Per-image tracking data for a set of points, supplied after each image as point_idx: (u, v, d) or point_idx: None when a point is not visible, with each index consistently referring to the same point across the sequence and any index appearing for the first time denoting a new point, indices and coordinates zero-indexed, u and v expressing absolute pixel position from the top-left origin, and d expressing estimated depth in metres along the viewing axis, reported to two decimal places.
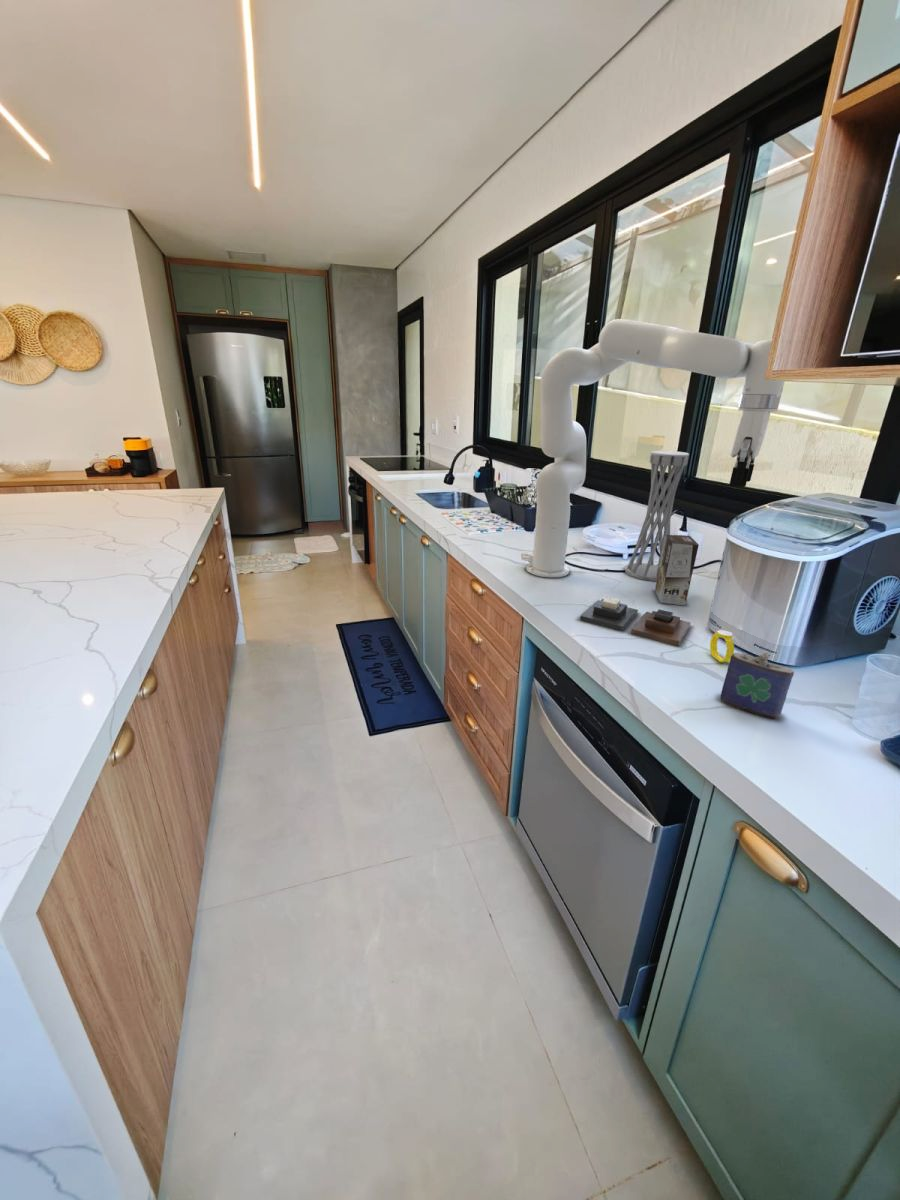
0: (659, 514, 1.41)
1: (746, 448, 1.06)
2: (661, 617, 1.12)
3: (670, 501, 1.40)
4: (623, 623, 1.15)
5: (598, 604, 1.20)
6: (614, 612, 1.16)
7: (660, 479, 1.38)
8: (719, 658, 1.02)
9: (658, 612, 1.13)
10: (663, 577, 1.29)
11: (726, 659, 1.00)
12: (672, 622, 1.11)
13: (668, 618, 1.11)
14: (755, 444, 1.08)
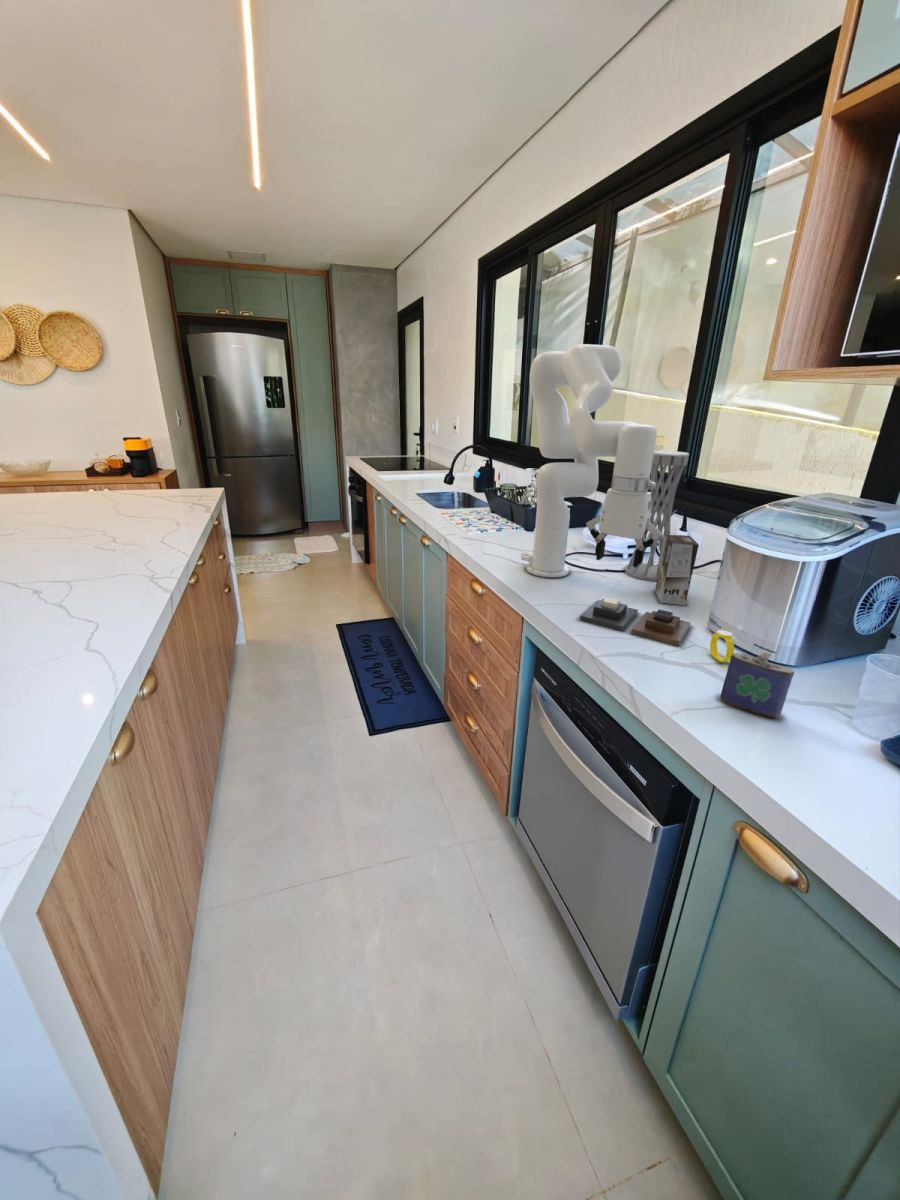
0: (659, 514, 1.41)
1: (587, 522, 1.16)
2: (661, 617, 1.12)
3: (670, 501, 1.40)
4: (623, 623, 1.15)
5: (598, 604, 1.20)
6: (614, 612, 1.16)
7: (660, 479, 1.38)
8: (719, 658, 1.02)
9: (658, 612, 1.13)
10: (663, 577, 1.29)
11: (726, 659, 1.00)
12: (672, 622, 1.11)
13: (668, 618, 1.11)
14: (599, 519, 1.13)
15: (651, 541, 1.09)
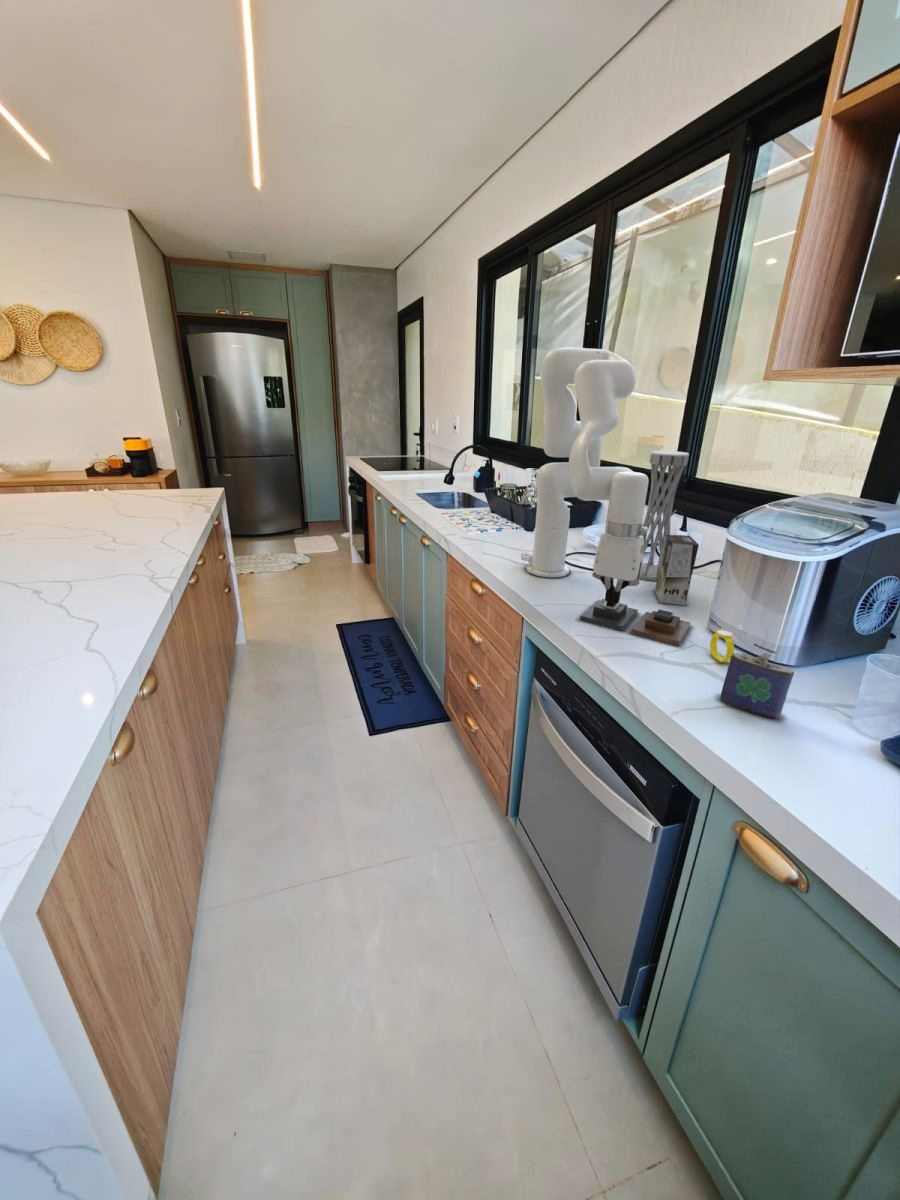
0: (659, 514, 1.41)
1: None
2: (661, 617, 1.12)
3: (670, 501, 1.40)
4: (623, 623, 1.15)
5: (598, 604, 1.20)
6: (614, 612, 1.16)
7: (660, 479, 1.38)
8: (719, 658, 1.02)
9: (658, 612, 1.13)
10: (663, 577, 1.29)
11: (726, 659, 1.00)
12: (672, 622, 1.11)
13: (668, 618, 1.11)
14: (594, 561, 1.17)
15: (626, 583, 1.15)
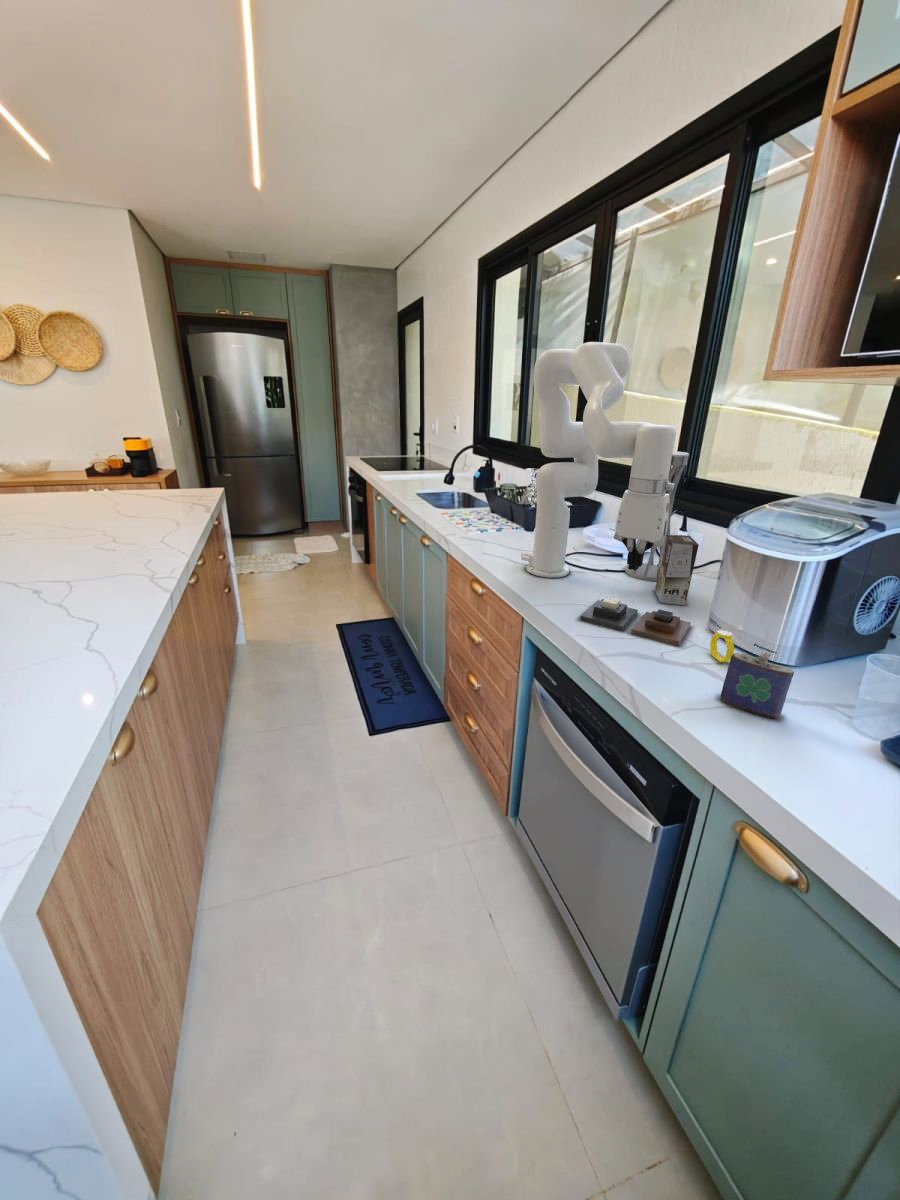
0: None
1: None
2: (661, 617, 1.12)
3: (670, 501, 1.40)
4: (623, 623, 1.15)
5: (598, 604, 1.20)
6: (614, 612, 1.16)
7: None
8: (719, 658, 1.02)
9: (658, 612, 1.13)
10: (663, 577, 1.29)
11: (726, 659, 1.00)
12: (672, 622, 1.11)
13: (668, 618, 1.11)
14: (616, 521, 1.11)
15: (650, 544, 1.09)
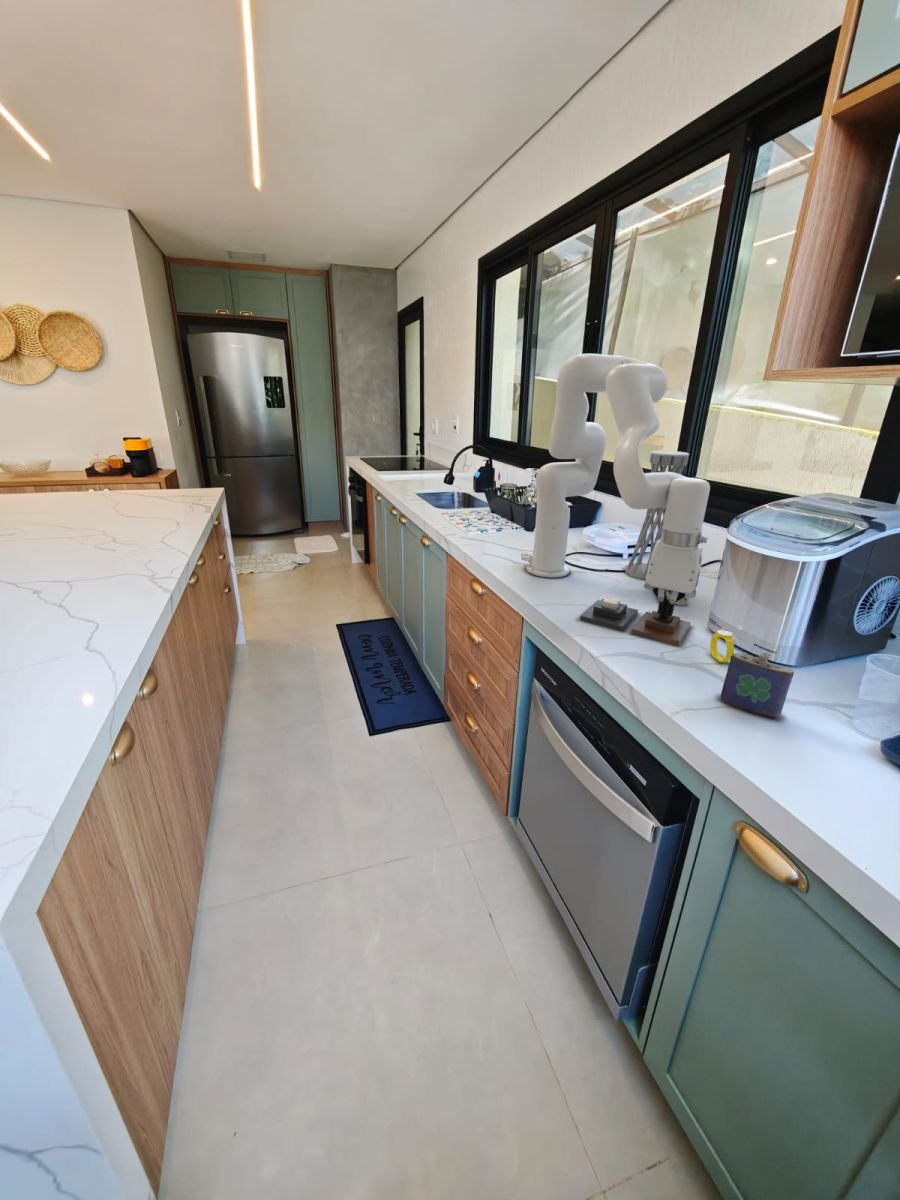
0: (659, 514, 1.41)
1: (644, 585, 1.13)
2: None
3: None
4: (623, 623, 1.15)
5: (598, 604, 1.20)
6: (614, 612, 1.16)
7: None
8: (719, 658, 1.02)
9: (657, 616, 1.14)
10: None
11: (726, 659, 1.00)
12: (672, 622, 1.11)
13: (667, 622, 1.12)
14: (647, 571, 1.11)
15: (682, 595, 1.09)
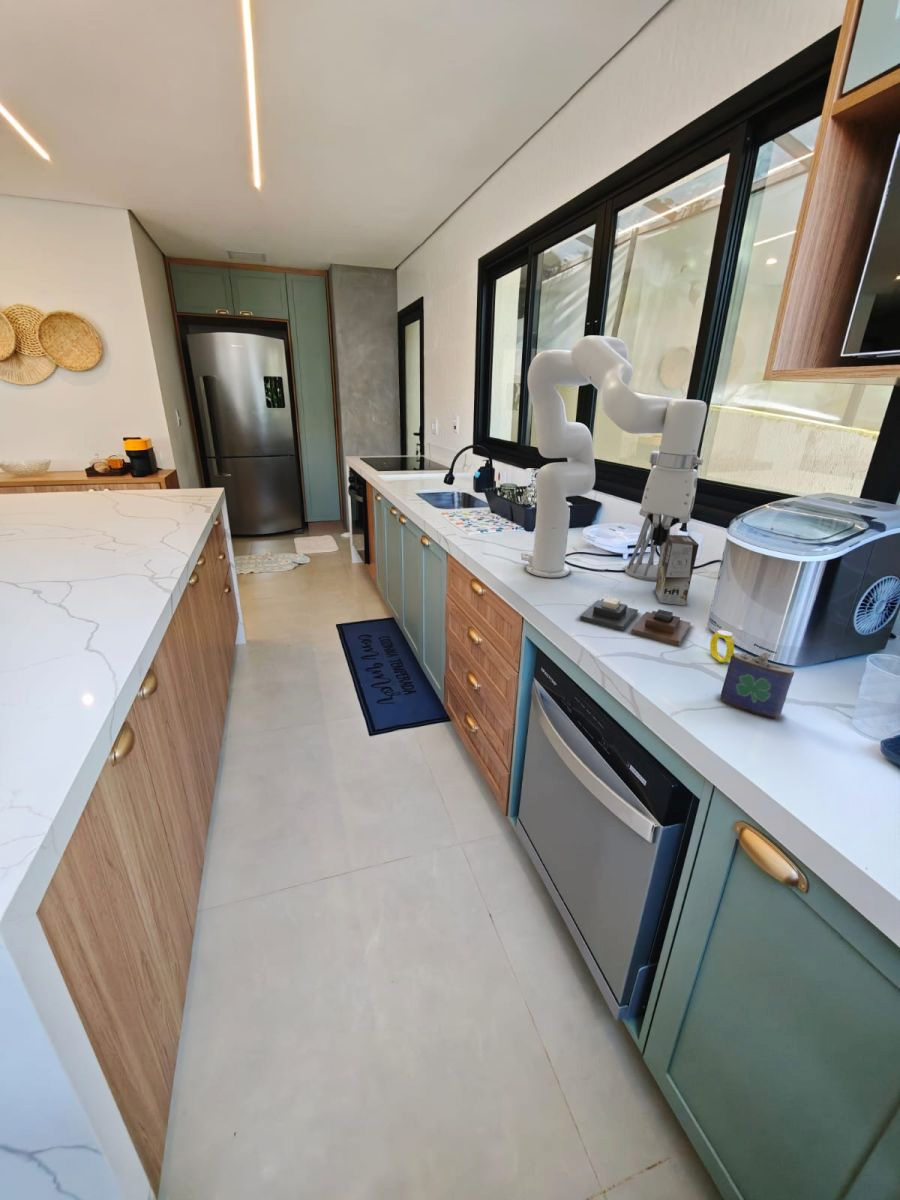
0: None
1: None
2: (661, 617, 1.12)
3: None
4: (623, 623, 1.15)
5: (598, 604, 1.20)
6: (614, 612, 1.16)
7: None
8: (719, 658, 1.02)
9: (658, 612, 1.13)
10: (663, 577, 1.29)
11: (726, 659, 1.00)
12: (672, 622, 1.11)
13: (668, 618, 1.11)
14: None
15: (677, 520, 1.10)
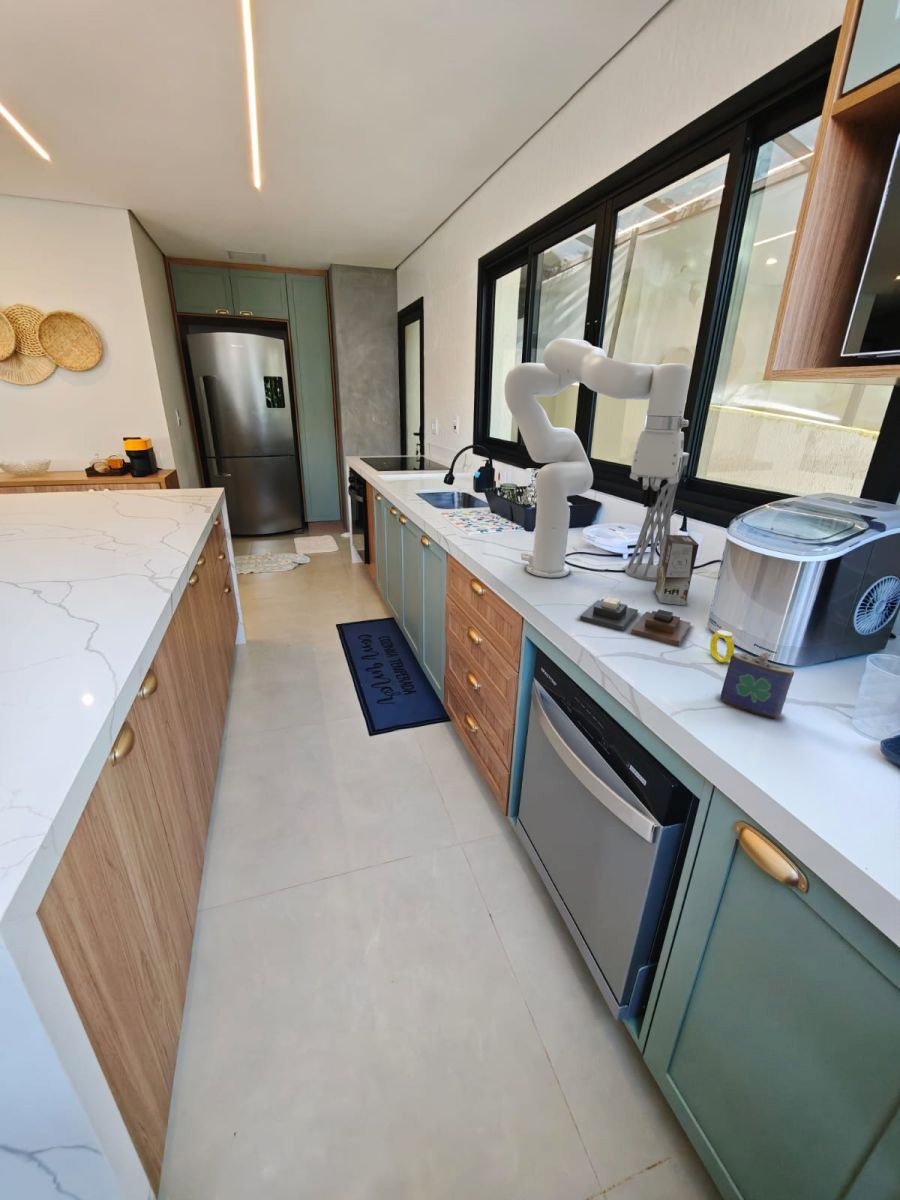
0: (659, 514, 1.41)
1: None
2: (661, 617, 1.12)
3: (670, 501, 1.40)
4: (623, 623, 1.15)
5: (598, 604, 1.20)
6: (614, 612, 1.16)
7: None
8: (719, 658, 1.02)
9: (658, 612, 1.13)
10: (663, 577, 1.29)
11: (726, 659, 1.00)
12: (672, 622, 1.11)
13: (668, 618, 1.11)
14: None
15: (665, 481, 1.15)
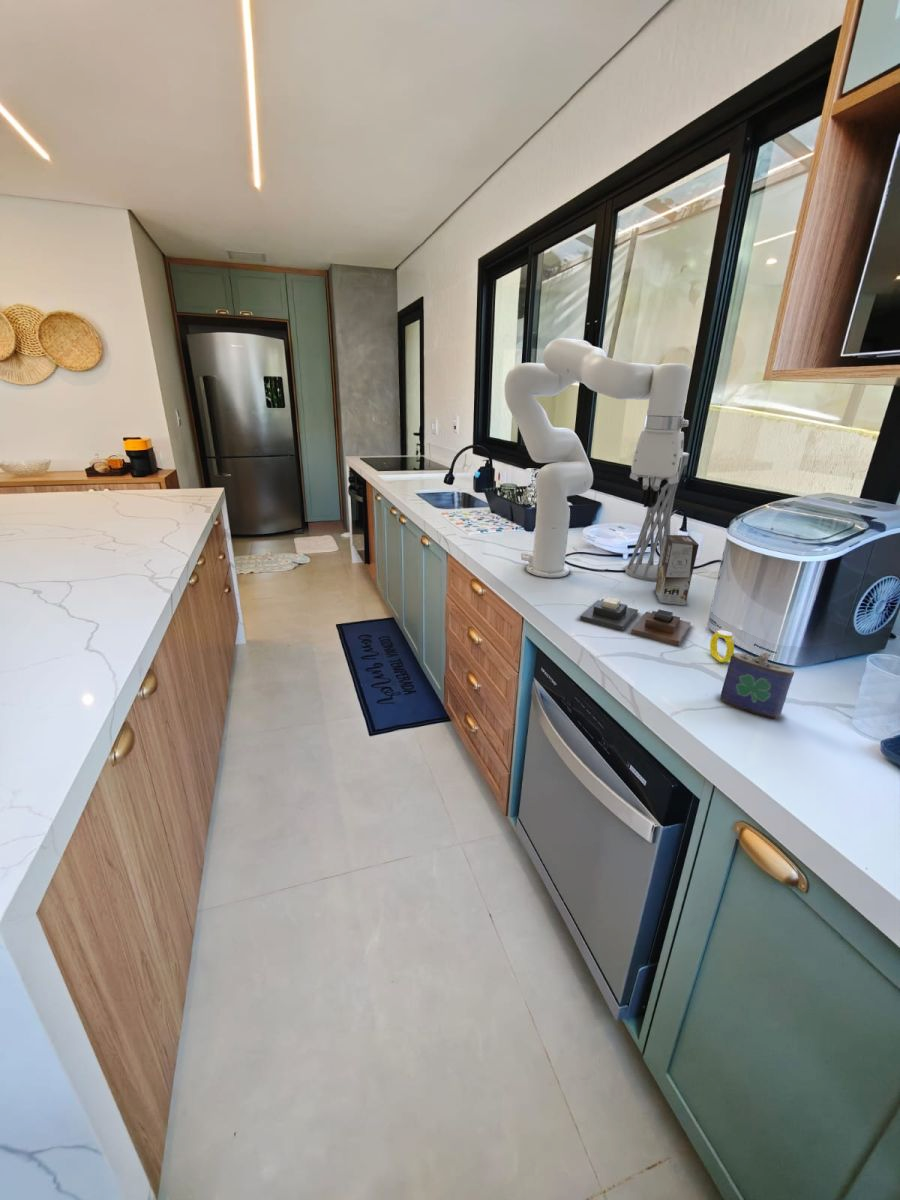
0: (659, 514, 1.41)
1: None
2: (661, 617, 1.12)
3: (670, 501, 1.40)
4: (623, 623, 1.15)
5: (598, 604, 1.20)
6: (614, 612, 1.16)
7: None
8: (719, 658, 1.02)
9: (658, 612, 1.13)
10: (663, 577, 1.29)
11: (726, 659, 1.00)
12: (672, 622, 1.11)
13: (668, 618, 1.11)
14: None
15: (665, 481, 1.15)
